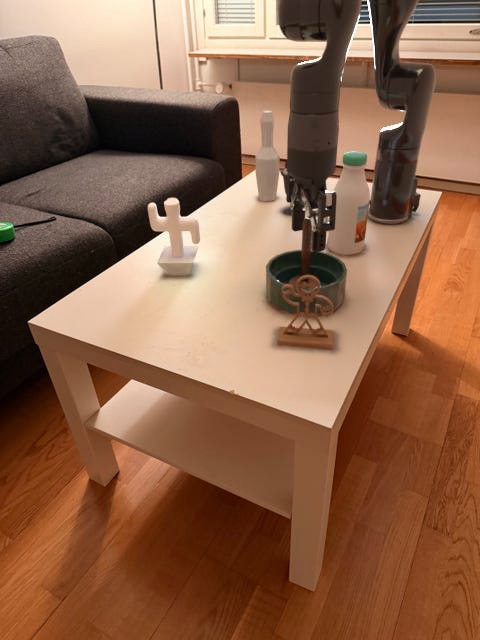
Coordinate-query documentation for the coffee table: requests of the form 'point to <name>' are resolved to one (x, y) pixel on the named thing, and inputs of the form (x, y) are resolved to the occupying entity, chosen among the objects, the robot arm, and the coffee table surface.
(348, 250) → the milk bottle
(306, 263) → the wooden peg stand
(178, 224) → the figurine
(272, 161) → the low poly bottle
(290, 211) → the sundae
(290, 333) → the gingerbread man figurine
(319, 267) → the bowl
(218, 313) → the coffee table surface
